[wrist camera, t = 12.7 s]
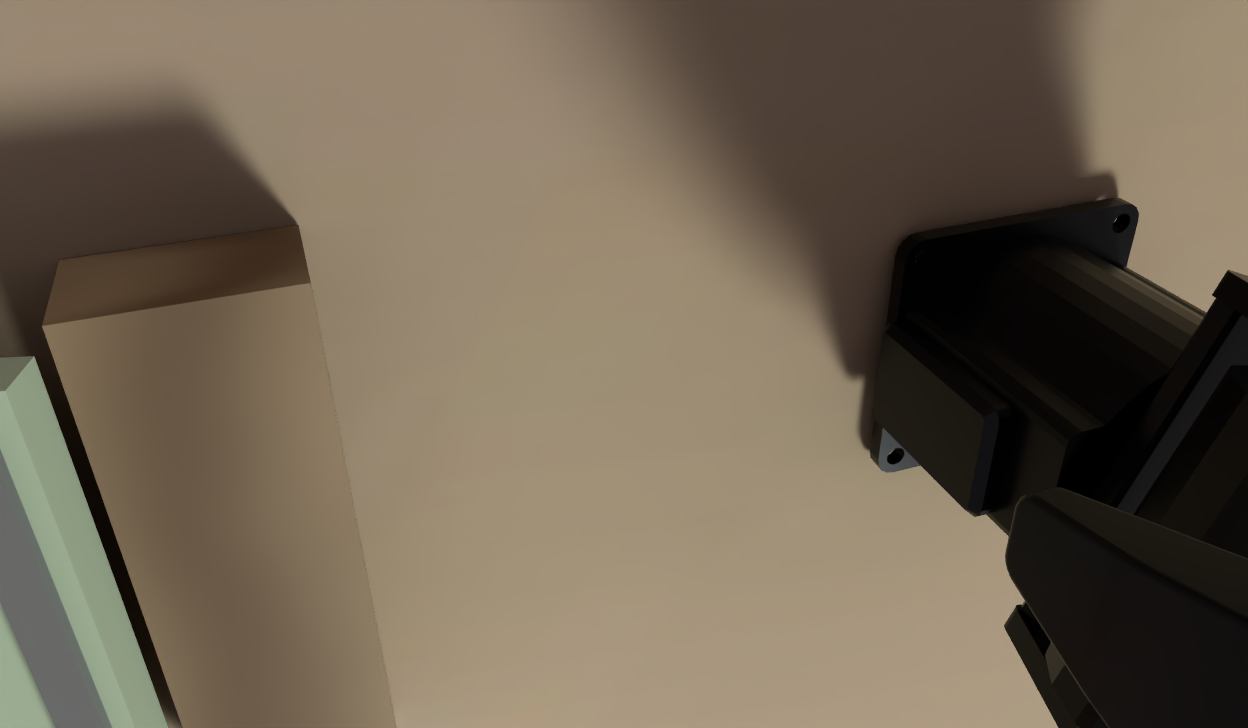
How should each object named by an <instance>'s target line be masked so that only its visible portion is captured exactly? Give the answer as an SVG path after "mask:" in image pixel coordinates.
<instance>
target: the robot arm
mask: <svg viewBox="0 0 1248 728" xmlns="http://www.w3.org/2000/svg"><path fill="white" fill-rule="evenodd" d="M1138 217H1139V212H1138V210H1137V207H1135V206H1134V205H1133V204H1131V203H1129V202H1127V201H1125V200H1123V199H1121V198H1112V199H1106V200H1100V201H1095V202H1089V203H1083V204H1078V205H1072V206H1066V207H1060V208H1055V209H1049V210H1043V211H1038V212H1032V213H1026V214H1020V215H1015V216H1009V217H1003V218H998V219H992V220H986V221H981V222H975V223H969V224H963V225H958V226H952V227H946V228H941V229H935V230H929V231H923V232H918V233H915V234H912V235H910V236H908V237H907V238H906V239H905V240H903V241H902V243H901V244H900V246H899V247H898V249H897V252H896V256H895V263H894V271H893V278H892V286H891V294H890V302H889V309H888V317H887V325H886V329H885V332H884V334H883V341H882V349H881V356H880V364H879V372H878V380H877V388H876V395H875V403H874V411H873V417H874V426H873V433H872V441H871V449H870V455H871V458H872V460H873V461H874V462H875V463H876V465H877V466H878V467H879V468H880V469H881V470H882V471H885V472H895V471H899V470H904V469H908V468H912V467H916V466H920V465H921V466H922V467H923V468H924V469H925V470H926V471H927V472H928V473H929V474H930V475H931V476H932V477H933V478H934V479H935V480H936V481H937V482H938V483H939V484H940V485H941V486H942V487H943V488H944V489H945V490H946V491H947V492H948V493H949V494H950V495H951V496H952V497H953V498H954V499H955V500H956V501H957V502H958V503H959V504H960V505H961V506H962V507H963V508H964V509H965V510H966V511H967V512H969V513H970V514H971V515H973V516H974V517H977V516H981V515H985V514H986V515H987V516H988V517H989V518H990V519H991V520H992V521H994V522H995V523H996V524H997V525H998V526H999V527H1000V528H1001V529H1002V530H1003V531H1004V532H1005V533H1006V534H1007V535H1008V536H1009V539H1008V543H1007V548H1006V554H1005V560H1006V566H1007V570H1008V572H1009V575H1010V577H1011V579H1012V581H1013V582H1014V584H1015V586H1016V587H1017V589H1018V590H1019V592H1020V594H1021V595H1022V597H1023V598H1024V600H1025V601H1024V603H1023V605H1017V606H1016V607H1015V609H1014V611H1013V612H1012V614H1011V615H1010V617H1009V618H1008V620H1007V622H1006V623H1005V625H1004V627H1005V630H1006V631H1007V633H1008V635H1009V637H1010V639H1011V641H1012V643H1013V644H1014V646H1015V648H1016V650H1017V652H1018V654H1019V655H1020V657H1021V659H1022V661H1023V663H1024V665H1025V667H1026V668H1027V670H1028V672H1029V674H1030V676H1031V678H1032V679H1033V681H1034V683H1035V685H1036V687H1037V689H1038V691H1039V692H1040V694H1041V696H1042V698H1043V700H1044V702H1045V704H1046V705H1047V707H1048V709H1049V711H1050V713H1051V715H1052V716H1053V718H1054V720H1055V722H1056V724H1057V726H1058V728H1248V276H1246V275H1243V274H1240V273H1237V272H1234V271H1231V270H1228V271H1227V272H1226V274H1225V275H1224V277H1223V278H1222V280H1221V282H1220V283H1219V285H1218V286H1217V288H1216V290H1215V291H1214V293H1213V294H1212V295H1213V296H1214V297H1215V298H1216V299H1215V301H1214V302H1213V304H1212V305H1211V307H1210V308H1209V310H1208V312H1207V313H1206V312H1204V311H1202V310H1201V309H1199V308H1197V307H1195V306H1194V305H1192V304H1190V303H1188V302H1187V301H1185V300H1183V299H1181V298H1180V297H1178V296H1176V295H1174V294H1172V293H1171V292H1169V291H1167V290H1165V289H1164V288H1162V287H1160V286H1158V285H1157V284H1155V283H1153V282H1151V281H1150V280H1148V279H1146V278H1144V277H1143V276H1141V275H1139V274H1137V273H1136V272H1134V271H1132V270H1130V269H1128V268H1127V267H1126V266H1127V262H1128V258H1129V254H1130V250H1131V246H1132V242H1133V239H1134V235H1135V231H1136V227H1137V223H1138ZM1116 218H1117V220H1116V221H1115V219H1116ZM1114 221H1115V222H1114ZM923 250H924V253H923V255H922V257H921V258H920V259H919V260H918V261H916V262H914V261H915V258H916V256H917V255H918V254H919V253H920V252H921V251H923ZM893 449H894V451H893V452H892V453H891V454H889V453H890V452H891V451H892V450H893ZM888 454H889V455H888Z"/></svg>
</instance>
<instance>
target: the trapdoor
mask: <svg viewBox="0 0 1248 728" xmlns="http://www.w3.org/2000/svg"><path fill="white" fill-rule="evenodd" d="M0 728H168V726H167V723H166V720H165V717H164V715H163V712H162V709H161V706H160V704H159V701H158V698H157V695H156V692H155V690H154V687H153V684H152V681H151V679H150V676H149V673H148V670H147V668H146V665H145V662H144V659H143V656H142V654H141V651H140V648H139V645H138V643H137V640H136V637H135V634H134V631H133V629H132V626H131V623H130V620H129V618H128V615H127V612H126V609H125V607H124V604H123V601H122V598H121V595H120V593H119V590H118V587H117V584H116V582H115V579H114V576H113V573H112V570H111V568H110V565H109V562H108V559H107V557H106V554H105V551H104V548H103V546H102V543H101V540H100V537H99V534H98V532H97V529H96V526H95V523H94V521H93V518H92V515H91V512H90V510H89V507H88V504H87V501H86V498H85V496H84V493H83V490H82V487H81V485H80V482H79V479H78V476H77V473H76V471H75V468H74V465H73V462H72V460H71V457H70V454H69V451H68V449H67V446H66V443H65V440H64V437H63V435H62V432H61V429H60V426H59V424H58V421H57V418H56V415H55V412H54V410H53V407H52V404H51V401H50V399H49V396H48V393H47V390H46V388H45V385H44V382H43V379H42V376H41V374H40V371H39V368H38V365H37V363H36V360H35V357H34V356H26V357H4V358H0Z"/></svg>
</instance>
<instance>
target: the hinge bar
mask: <svg viewBox="0 0 1248 728" xmlns="http://www.w3.org/2000/svg"><path fill="white" fill-rule="evenodd" d="M42 328H43V330H44V333H45V336H46V339H47V342H48V345H49V348H50V350H51V353H52V356H53V359H54V362H55V365H56V368H57V370H58V373H59V376H60V379H61V382H62V385H63V387H64V390H65V393H66V396H67V399H68V402H69V405H70V407H71V410H72V413H73V416H74V419H75V422H76V425H77V427H78V430H79V433H80V436H81V439H82V442H83V445H84V447H85V450H86V453H87V456H88V459H89V462H90V465H91V467H92V470H93V473H94V476H95V479H96V482H97V485H98V487H99V490H100V493H101V496H102V499H103V502H104V505H105V507H106V510H107V513H108V516H109V519H110V522H111V525H112V527H113V530H114V533H115V536H116V539H117V542H118V545H119V547H120V550H121V553H122V556H123V559H124V562H125V565H126V567H127V570H128V573H129V576H130V579H131V582H132V585H133V587H134V590H135V593H136V596H137V599H138V602H139V605H140V607H141V610H142V613H143V616H144V619H145V622H146V625H147V627H148V630H149V633H150V636H151V639H152V642H153V645H154V647H155V650H156V653H157V656H158V659H159V662H160V665H161V667H162V670H163V673H164V676H165V679H166V682H167V685H168V687H169V690H170V693H171V696H172V699H173V702H174V705H175V707H176V710H177V713H178V716H179V719H180V722H181V724H182V727H183V728H396V722H395V717H394V712H393V707H392V702H391V697H390V691H389V686H388V681H387V676H386V671H385V665H384V660H383V655H382V650H381V645H380V640H379V634H378V629H377V624H376V619H375V614H374V608H373V603H372V598H371V593H370V588H369V583H368V577H367V572H366V567H365V562H364V557H363V551H362V546H361V541H360V536H359V531H358V526H357V520H356V515H355V510H354V505H353V500H352V494H351V489H350V484H349V479H348V474H347V469H346V463H345V458H344V453H343V448H342V443H341V437H340V432H339V427H338V422H337V417H336V412H335V406H334V401H333V396H332V391H331V386H330V380H329V375H328V370H327V365H326V360H325V355H324V349H323V344H322V339H321V334H320V329H319V323H318V318H317V313H316V308H315V303H314V298H313V292H312V287H311V282H310V277H309V273H308V268H307V263H306V259H305V254H304V249H303V244H302V240H301V235H300V230H299V226H298V225H296V226H289V227H282V228H275V229H269V230H262V231H255V232H248V233H241V234H234V235H227V236H220V237H214V238H207V239H200V240H193V241H186V242H179V243H172V244H166V245H159V246H152V247H145V248H138V249H131V250H124V251H117V252H111V253H104V254H97V255H90V256H83V257H76V258H69V259H63V260H59V263H58V266H57V270H56V274H55V278H54V282H53V286H52V290H51V293H50V297H49V301H48V305H47V309H46V313H45V316H44V320H43V324H42Z"/></svg>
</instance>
